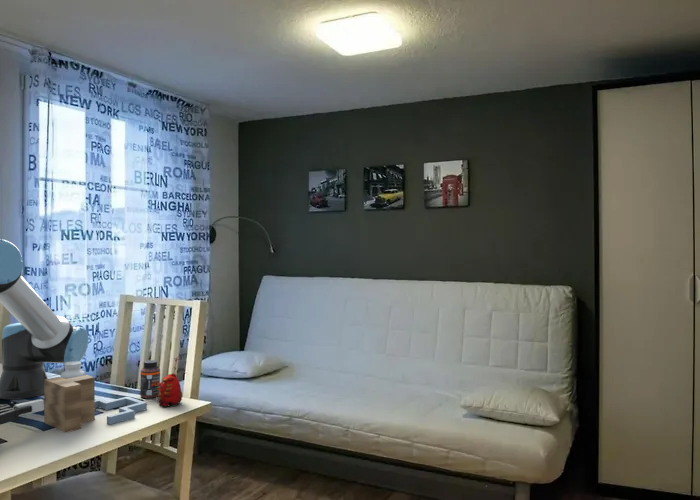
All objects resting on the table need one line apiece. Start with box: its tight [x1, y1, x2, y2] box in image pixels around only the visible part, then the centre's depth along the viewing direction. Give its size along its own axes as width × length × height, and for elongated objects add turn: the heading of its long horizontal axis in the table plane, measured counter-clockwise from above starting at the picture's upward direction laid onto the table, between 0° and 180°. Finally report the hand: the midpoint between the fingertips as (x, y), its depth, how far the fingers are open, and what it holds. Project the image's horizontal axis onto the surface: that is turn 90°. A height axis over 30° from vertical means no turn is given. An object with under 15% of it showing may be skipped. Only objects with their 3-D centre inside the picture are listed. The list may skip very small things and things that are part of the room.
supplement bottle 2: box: [139, 359, 161, 399], centre depth 183 cm, size 6×6×11 cm
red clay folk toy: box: [157, 354, 183, 408], centre depth 175 cm, size 8×7×15 cm
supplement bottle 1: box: [60, 361, 86, 379], centre depth 173 cm, size 7×7×13 cm
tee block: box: [43, 374, 96, 433], centre depth 157 cm, size 12×10×12 cm
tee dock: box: [95, 395, 148, 425], centre depth 167 cm, size 18×14×2 cm
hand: (42, 404), depth 150 cm, fingers closed
